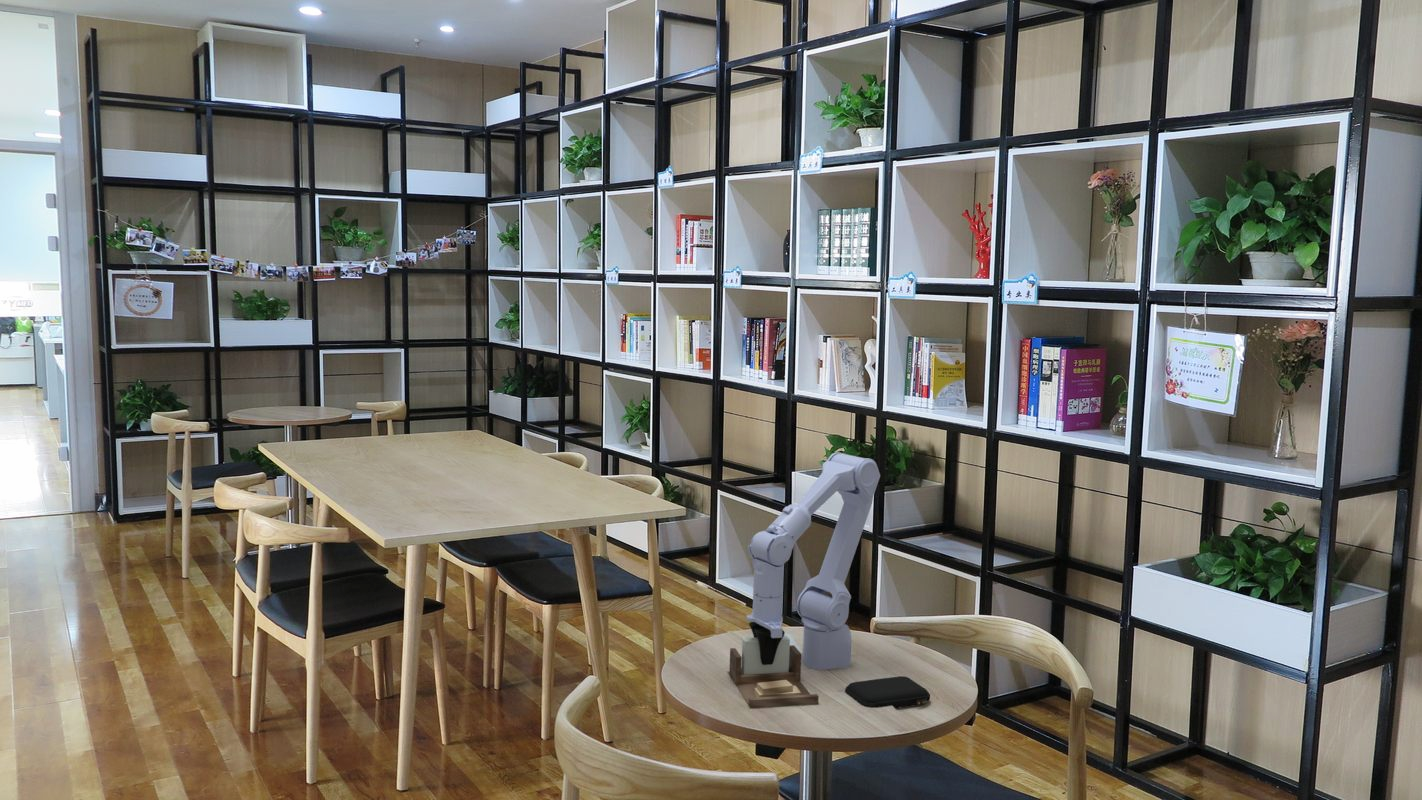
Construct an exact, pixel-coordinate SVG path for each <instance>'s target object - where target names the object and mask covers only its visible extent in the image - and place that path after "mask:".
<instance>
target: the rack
mask: <svg viewBox="0 0 1422 800" xmlns="http://www.w3.org/2000/svg"><path fill="white" fill-rule="evenodd" d="M729 649H730V651H729V671H726V672H727V675H728V676H729V678H730V679H731V681H732V682H733V685H734V686H735V687H736V689H737V690H738V692H739V693H740V695H741V696H742V698H743V699H744V701H745V703H746V704H747V706H748V707H749V709H760V708H762V709H763V708H778V707H797V706H811V705H812V706H814V705H819V697H820V696H819V695H818V694H817V693H815V694H814V693H810V692H809V691H808V689H807V688H806V686H805V685H804V684H803V683H802V682H801V675H802V674H801V673H802V656H803V653H802V652H799V651H798V649H797V648H796V647H795V646H794V645H790V650H789V672H785V673H767V674H748V675H741V666H742V655H741V654H740V653H739V651H738V650H737V648H735V647H730V648H729ZM779 680H787V681H788V682H789V683H791V684H792V685H793V686H796V687H797V688H798V689H799V691H800V692H801V695H792V696H775V697H758V698H757V697H756V696H755V694H754V693H755V688H757V683H762V682H770V681H779Z"/></svg>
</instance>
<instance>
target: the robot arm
mask: <svg viewBox="0 0 1422 800" xmlns="http://www.w3.org/2000/svg"><path fill="white" fill-rule="evenodd" d="M879 470H880V469H879V468H878V464H877V463H876V461H875V460H874V459H872V458H867V457H866V458H865V457H861V456H855V455H851V454H847V453H843V452H840V451H836V452H833V453H832V454H831V455H830V456H829V457H828V458H827V460H826V461H825V462H823V463H822V468H821V474H820V475H819V476H818V478H817V479H816V480H815V481H814V483H813V484H812V485H811V486H810V487H809V489H808V490H807V492H806V493H805V494H804V495H803V496H802V498H801V499H800V501H799V502H798V503H797V504H796V503H795V504H793V503H791V504H789V505H788V506H787V505H786V506H784V508H783V509H782V512H781V513H780V514H779V515H778V516H777V517H776V518H775V520H774V521H773V522H772V523H771V524H770V525H769V526H768V527H767V528H766V529H765V530H761V531H759V532H757V533H755V534H754V535H753V536H752V538H751V540H750V544H749V545H748V546H747V550H748V554H749V556H750V558H751V559H752V563H751V564H752V565H751V566H753V586H752V591H753V593H752V595H753V596H752V612H751V614H747V615H746V616H745V617H746V618H745V619H746V620H747V621H748V622H749V623H748V625H749V627H750V629H751V633H752V635H753V638H756V637H757V638H758V642H759V647H760V658H761V663H762V665H772V664H773V662H774V658H775V655H776V651H777V648H778V645H779V643H780V641H781V639H782V638H783V637H784V634H785V633H786V632H785V631H784V629H783V626H782V625H783V621H784V620H783V619H784V616H783V600H784V599H783V598H784V593H783V592H784V573H785V570H784V569H785V568H784V567H785V563H786V562H788V561H789V560H790V559H791V558H790V557H791V556H792V551H793V549H794V547H795V543H796V542H797V540H798V539H800V537H802V535H803V534H804V533H805V532H806V531H807V530H808V528H810V527H811V525H812V515H813V514H814V513H815V512H816V511H818V510H819V509H820V508H821V507H822V506H823V505H824V504H825V503H826V502H827V501H828V500H829V499H831V497H832V496H834V494H836V493H839V495H840V496H841V499H842V501H843V505H842V506H841V511H840V512H839V513H840V514H839V516H838V519H837V522H836V523H835V524H836V525H835V528H834V531H833V533H832V536H831V539H830V542H829V544H828V547H827V551H826V553H825V556H824V558H823V559H824V560H823V561H822V564H821V568H820V570H819V573H818V574H817V575H816V576H814V577H812V578H810V579H808V580H807V581H806V584H805V587H804V588H803V590H802V591H801V593H799V595H798V598H797V601H796V606H795V607H796V611H797V614H798V615H799V616H800V618H801V623H802V624H803V635H802V636H803V639H802V656H801V664H802V665H803V666H805V667H807V668H809V669H812V670H818V671H819V670H820V671H825V670H826V671H827V670H833V669H844V668H851V664H852V663H851V660H852V641H853V640H852V632H851V629H850V627H849V626H848V625H847V624H846V622H847V620H848V618H849V614H850V602H851V599H852V595H851V594H850V592H849V590H848V588H847V586H846V585H845V582H846V580H847V577H848V574H849V571H850V568H851V565H852V562H853V560H854V557H855V554H856V551H857V547H858V545H859V543H860V540H861V536H862V534H863V530H864V528H865V525H866V522H867V520H868V516H869V514H870V510H871V508H872V504H873V502H874V501H873V500H874V495H875V493H876V489H877V487H878V483H879V481H880V478H881V473H880V471H879ZM826 592H827V593H830V594H827V593H826Z"/></svg>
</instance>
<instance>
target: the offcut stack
mask: <svg viewBox="0 0 1422 800" xmlns="http://www.w3.org/2000/svg"><path fill="white" fill-rule="evenodd" d="M754 694H755V696H756V697H757V698H758V697H775V696H792V695H801V692H800V691H799V689H798V688H797V687H796V686H793V685H792V684H791V683H789V682H788V681H787V680H779V681H770V682H762V683H757V688H755V693H754Z"/></svg>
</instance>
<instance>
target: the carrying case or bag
mask: <svg viewBox="0 0 1422 800" xmlns="http://www.w3.org/2000/svg"><path fill="white" fill-rule="evenodd" d="M844 693H845V694H847V695H848V696H849V697H850V698H852V699H853V700H854V701H856V702H857V703H858V704H860V705H861V706H863V707H864V708H865V707H867V708H874V709H876V708H884V707H890V706H892V707H893V708H894V709H899V707H901V708H906V706H907V707H913V705H914V706H918V707H919V706H922V705H925V704H927V702H929V701H930V699H931V694H930V692H929V691H928V690H927V689H926V687H925V688H924V687H923V686H922V685H921V684H919V683H917V682H916V681H914V680H913V679H911V678H910V677H908V676H905V675H904V676H901V675H900V676H893V677H885V678H884V677H883V678H875V679H869V680H861V681H860V680H859V681H854V682H851V683H849V684H848V685H847V686H846V687H845V688H844ZM924 703H925V704H924Z"/></svg>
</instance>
